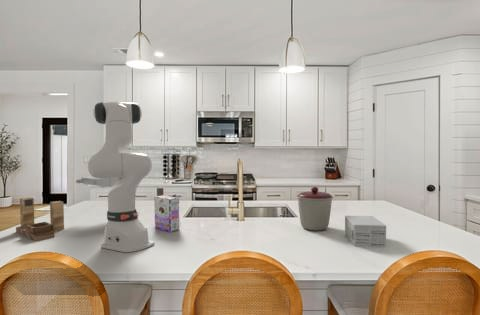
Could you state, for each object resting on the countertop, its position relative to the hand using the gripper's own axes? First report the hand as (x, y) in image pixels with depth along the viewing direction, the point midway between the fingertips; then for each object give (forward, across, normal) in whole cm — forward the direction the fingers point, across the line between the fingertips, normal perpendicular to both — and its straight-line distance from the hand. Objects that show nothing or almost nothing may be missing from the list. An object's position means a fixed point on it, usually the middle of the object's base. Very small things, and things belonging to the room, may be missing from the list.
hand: (80, 182), depth 167 cm
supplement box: (-62, +129, +22) cm, 145 cm away
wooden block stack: (+23, +1, +23) cm, 32 cm away
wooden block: (-36, +26, +23) cm, 50 cm away
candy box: (-22, +44, +23) cm, 54 cm away
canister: (-68, +103, +22) cm, 126 cm away
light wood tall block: (+12, 0, +23) cm, 26 cm away
